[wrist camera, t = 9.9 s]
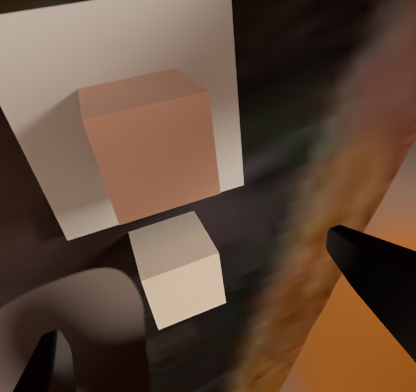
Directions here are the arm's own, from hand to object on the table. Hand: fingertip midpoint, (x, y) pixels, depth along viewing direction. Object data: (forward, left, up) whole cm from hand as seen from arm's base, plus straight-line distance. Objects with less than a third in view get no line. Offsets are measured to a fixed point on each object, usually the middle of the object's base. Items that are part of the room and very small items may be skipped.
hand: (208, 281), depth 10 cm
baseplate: (0, -2, -12) cm, 12 cm away
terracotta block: (0, -2, -11) cm, 11 cm away
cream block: (0, +9, -12) cm, 15 cm away
